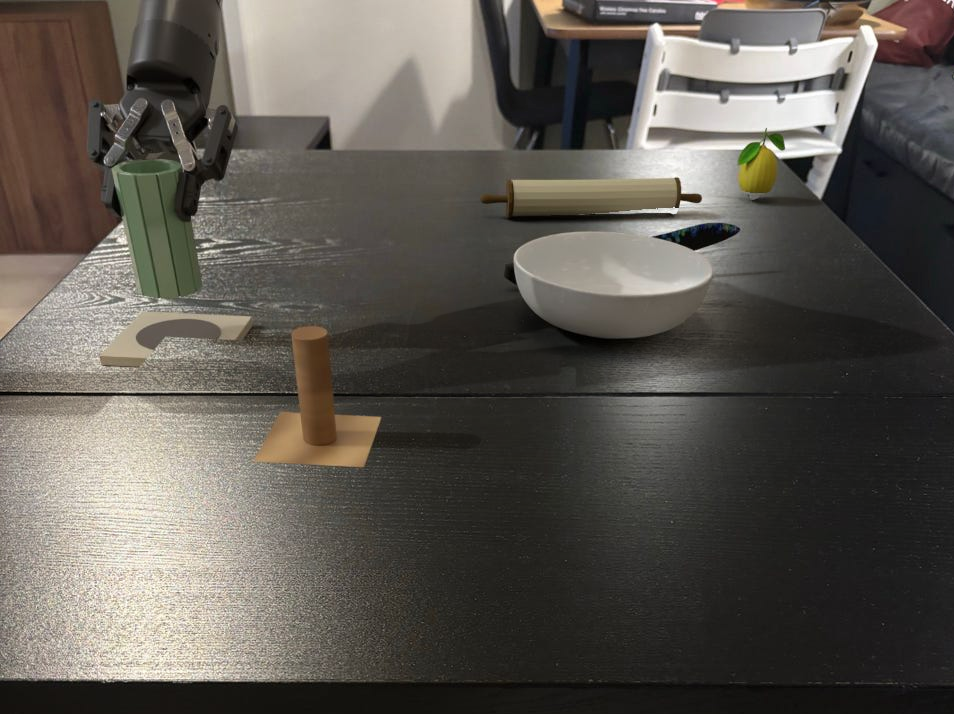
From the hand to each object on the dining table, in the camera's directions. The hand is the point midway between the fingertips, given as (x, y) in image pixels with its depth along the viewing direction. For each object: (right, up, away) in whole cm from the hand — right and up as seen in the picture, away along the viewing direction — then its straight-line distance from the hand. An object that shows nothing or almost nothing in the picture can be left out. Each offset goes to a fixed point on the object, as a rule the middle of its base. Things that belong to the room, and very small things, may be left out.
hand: (147, 214), depth 87 cm
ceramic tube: (0, -5, +6) cm, 8 cm away
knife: (+49, +5, +27) cm, 56 cm away
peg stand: (+17, -23, -8) cm, 30 cm away
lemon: (+73, +28, +57) cm, 96 cm away
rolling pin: (+47, +22, +49) cm, 71 cm away
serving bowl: (+45, -5, +16) cm, 48 cm away
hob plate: (0, -9, +10) cm, 13 cm away
